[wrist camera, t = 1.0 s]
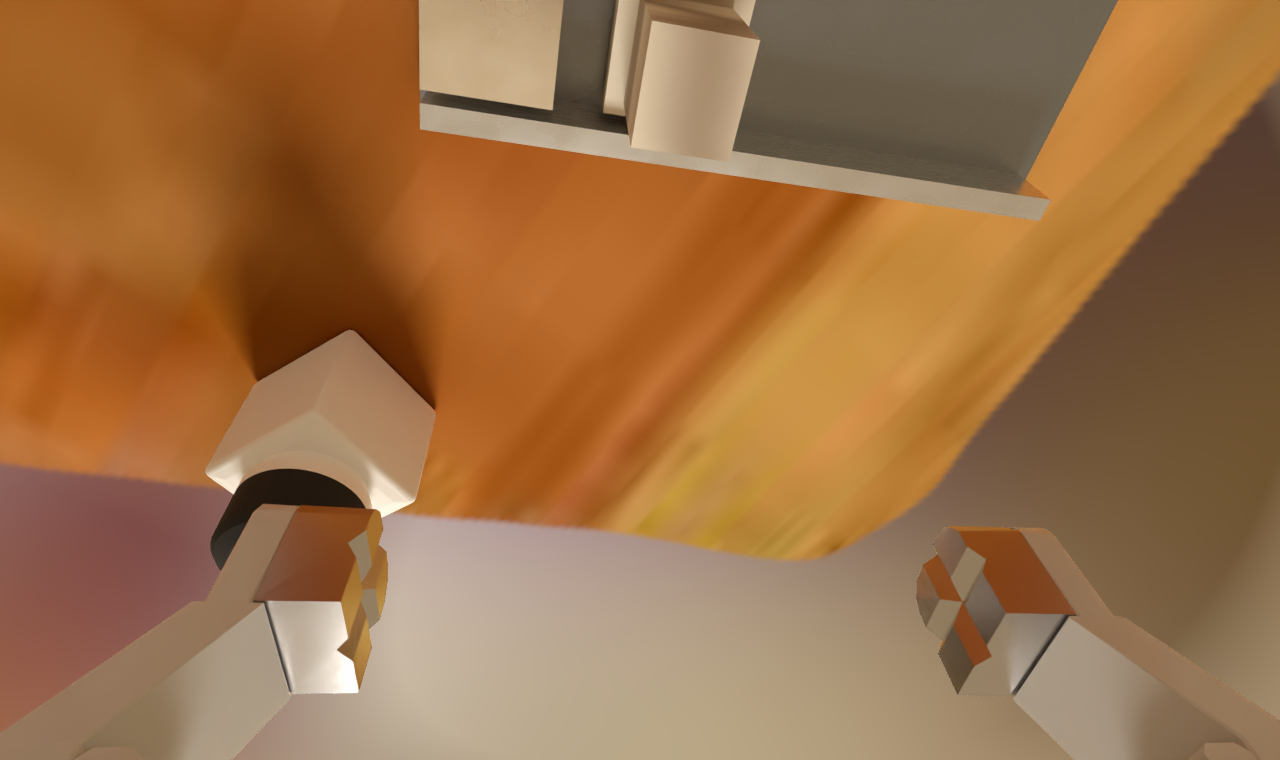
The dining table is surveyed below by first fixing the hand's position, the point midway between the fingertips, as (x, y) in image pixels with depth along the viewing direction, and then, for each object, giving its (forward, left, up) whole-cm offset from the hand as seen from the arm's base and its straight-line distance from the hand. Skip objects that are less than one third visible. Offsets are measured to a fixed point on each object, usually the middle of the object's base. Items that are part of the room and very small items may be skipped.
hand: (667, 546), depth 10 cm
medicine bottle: (+11, -20, -26) cm, 35 cm away
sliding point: (-2, +4, -24) cm, 25 cm away
